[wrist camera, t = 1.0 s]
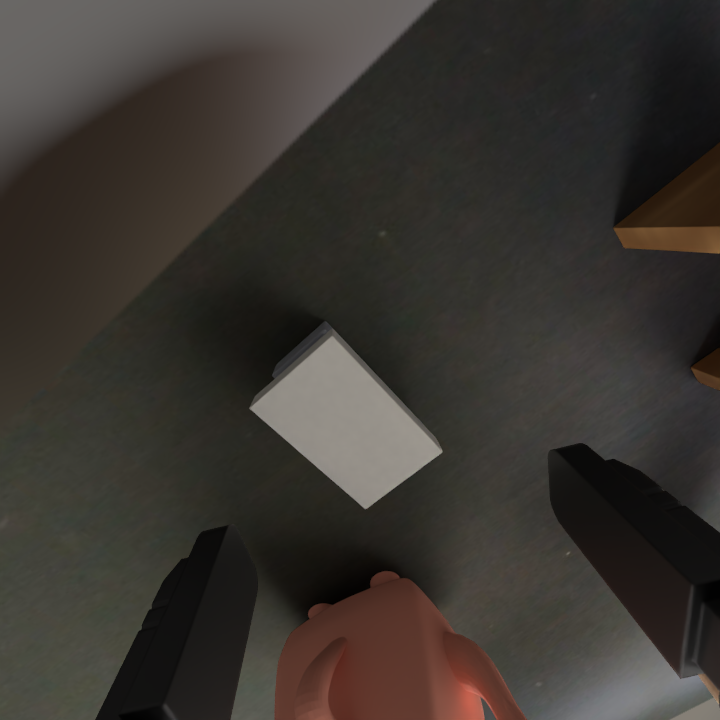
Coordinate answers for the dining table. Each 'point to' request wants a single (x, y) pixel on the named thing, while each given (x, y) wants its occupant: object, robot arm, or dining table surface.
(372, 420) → the white book
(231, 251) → the dining table surface
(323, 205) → the dining table surface
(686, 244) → the shelf
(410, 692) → the teapot
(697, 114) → the dining table surface
